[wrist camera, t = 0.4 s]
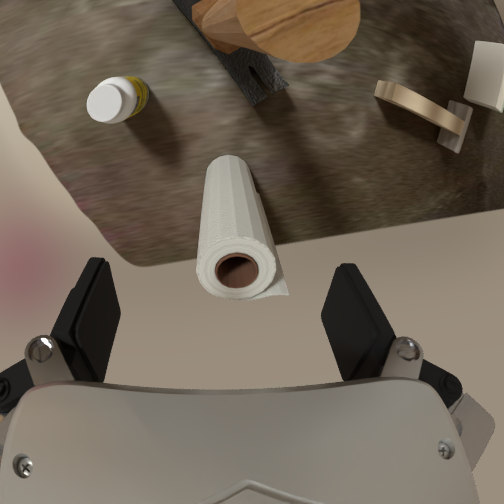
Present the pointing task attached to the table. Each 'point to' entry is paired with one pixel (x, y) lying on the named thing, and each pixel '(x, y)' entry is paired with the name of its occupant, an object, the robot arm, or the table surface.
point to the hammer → (271, 35)
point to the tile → (486, 76)
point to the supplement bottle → (117, 99)
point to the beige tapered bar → (430, 112)
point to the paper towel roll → (236, 236)
